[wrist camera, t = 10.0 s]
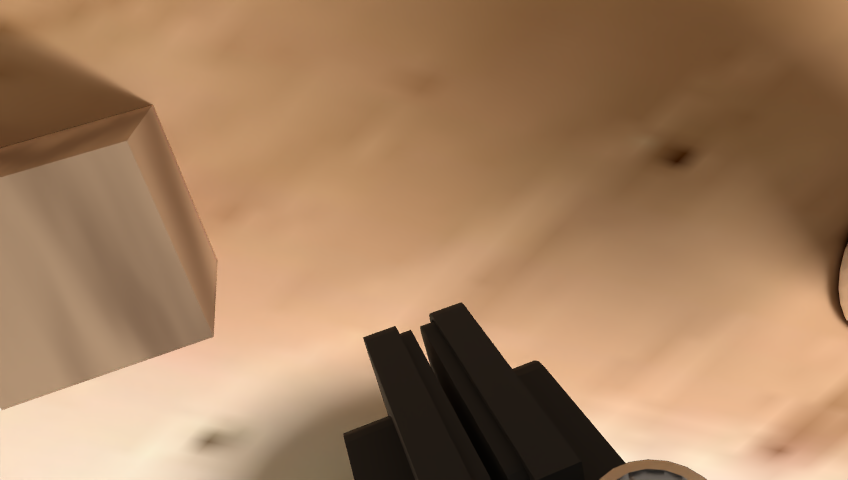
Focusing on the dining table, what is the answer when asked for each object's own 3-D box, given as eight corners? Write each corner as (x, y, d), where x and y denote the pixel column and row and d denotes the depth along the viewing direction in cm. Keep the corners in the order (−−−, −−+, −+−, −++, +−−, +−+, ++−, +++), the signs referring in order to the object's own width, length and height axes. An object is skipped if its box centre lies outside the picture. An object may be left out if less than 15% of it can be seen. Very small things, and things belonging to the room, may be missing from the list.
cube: (126, 140, 19) (-128, 214, 18) (213, 336, 22) (-2, 411, 21) (152, 104, 25) (-35, 157, 24) (217, 260, 28) (52, 314, 27)
